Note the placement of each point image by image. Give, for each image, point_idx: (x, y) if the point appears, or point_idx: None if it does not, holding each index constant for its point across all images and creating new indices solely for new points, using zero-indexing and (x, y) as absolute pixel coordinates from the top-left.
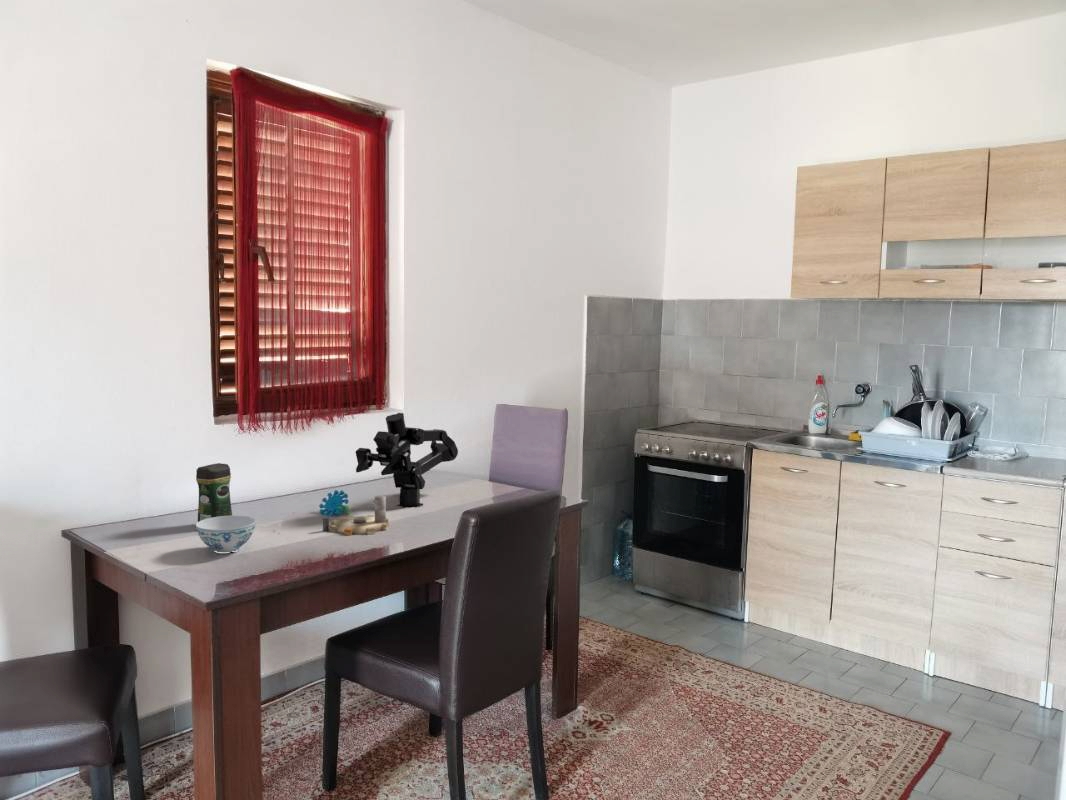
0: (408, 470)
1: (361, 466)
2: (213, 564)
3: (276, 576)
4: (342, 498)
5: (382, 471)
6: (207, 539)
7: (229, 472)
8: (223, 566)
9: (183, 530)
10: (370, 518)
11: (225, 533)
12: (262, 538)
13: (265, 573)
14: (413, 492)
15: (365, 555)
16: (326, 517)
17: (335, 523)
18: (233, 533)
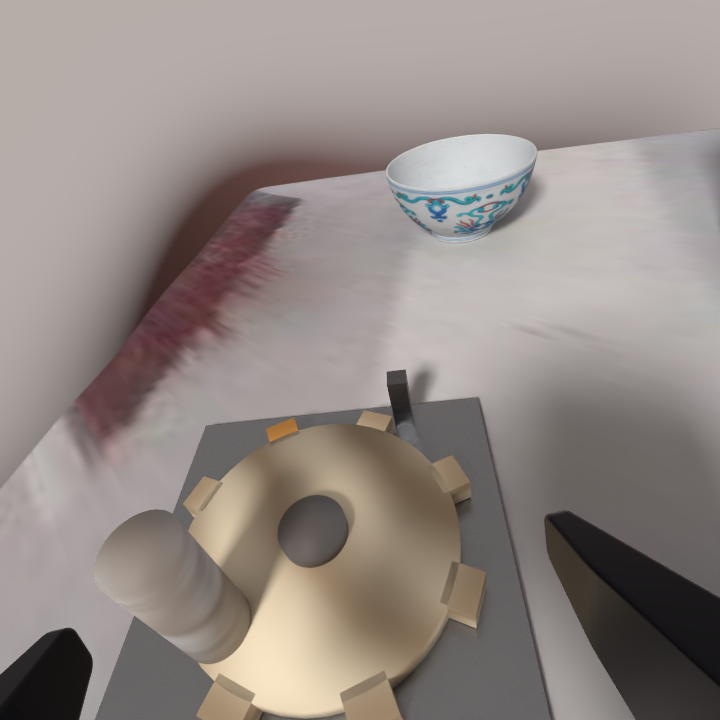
0: None
1: (659, 680)
2: (391, 206)
3: (240, 241)
4: None
5: (37, 646)
6: (440, 168)
7: None
8: (365, 212)
9: None
10: (319, 646)
11: (401, 165)
12: (506, 289)
13: (268, 236)
14: None
15: (129, 374)
16: (397, 380)
17: (400, 446)
18: (394, 174)
